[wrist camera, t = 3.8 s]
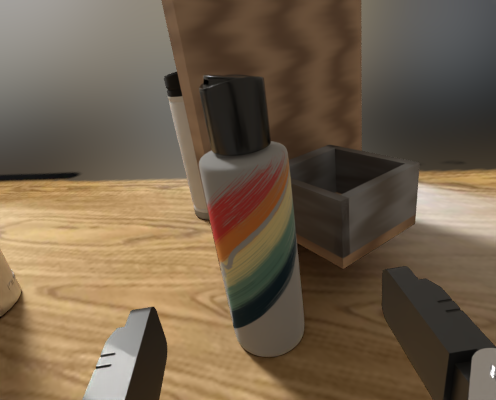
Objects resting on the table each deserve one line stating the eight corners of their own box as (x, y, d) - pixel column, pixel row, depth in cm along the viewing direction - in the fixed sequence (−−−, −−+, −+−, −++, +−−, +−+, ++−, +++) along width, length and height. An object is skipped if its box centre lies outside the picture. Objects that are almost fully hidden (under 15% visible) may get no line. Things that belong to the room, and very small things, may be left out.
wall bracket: (298, 340, 26) (245, -132, 15) (220, 270, 36) (151, -48, 24) (442, 238, 35) (481, -103, 24) (349, 204, 45) (344, -50, 33)
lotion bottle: (227, 318, 29) (173, 77, 21) (287, 297, 31) (258, 62, 22) (248, 370, 24) (188, 82, 16) (318, 342, 26) (296, 62, 17)
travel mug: (240, 216, 46) (213, 60, 38) (193, 223, 47) (156, 69, 38) (240, 197, 52) (216, 58, 44) (197, 203, 52) (166, 66, 44)
